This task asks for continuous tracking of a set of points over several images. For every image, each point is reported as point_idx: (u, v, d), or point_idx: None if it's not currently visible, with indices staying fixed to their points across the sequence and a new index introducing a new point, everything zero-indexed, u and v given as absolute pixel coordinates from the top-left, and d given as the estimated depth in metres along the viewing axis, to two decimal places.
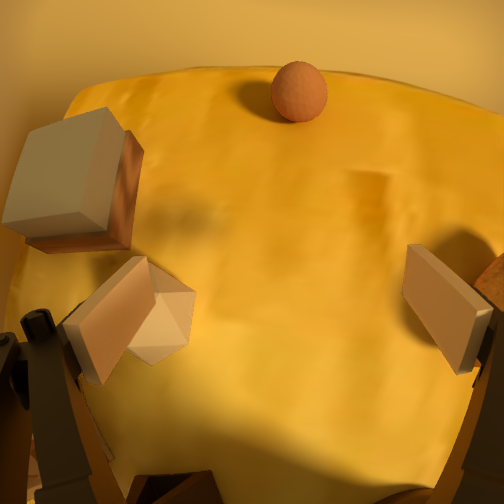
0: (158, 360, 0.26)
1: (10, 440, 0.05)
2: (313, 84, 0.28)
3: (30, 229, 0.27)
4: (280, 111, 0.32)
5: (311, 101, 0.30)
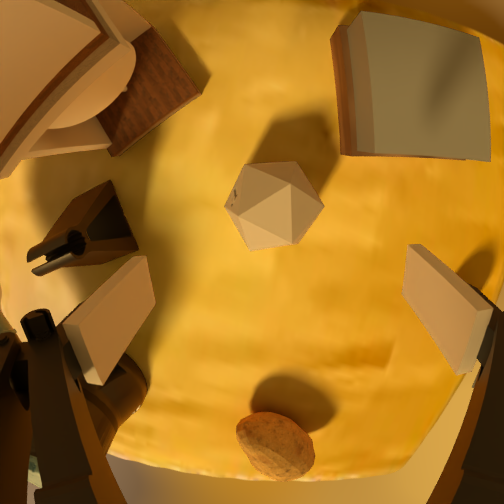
0: (231, 217, 0.30)
1: (10, 440, 0.05)
2: None
3: (357, 48, 0.21)
4: None
5: None
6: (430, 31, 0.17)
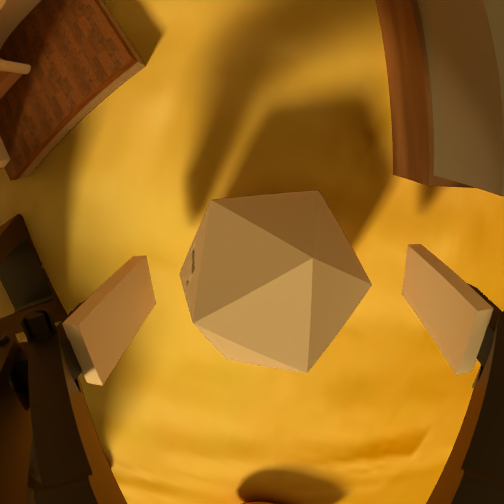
0: None
1: (10, 440, 0.05)
2: None
3: None
4: None
5: None
6: None
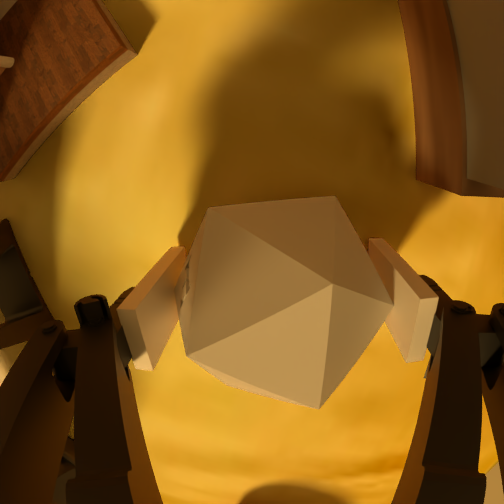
0: None
1: (45, 432, 0.06)
2: None
3: None
4: None
5: None
6: None
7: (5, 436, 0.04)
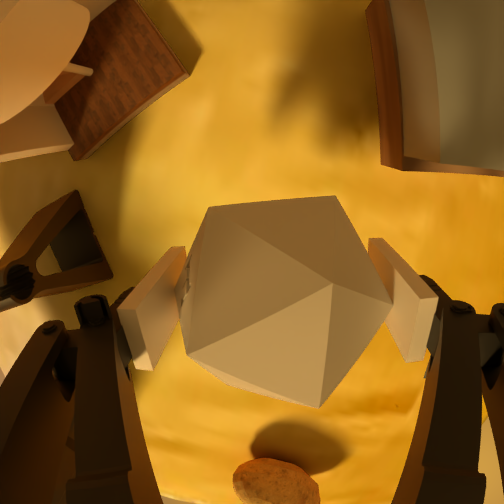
0: None
1: (45, 432, 0.06)
2: None
3: (406, 9, 0.12)
4: None
5: None
6: None
7: (5, 436, 0.04)
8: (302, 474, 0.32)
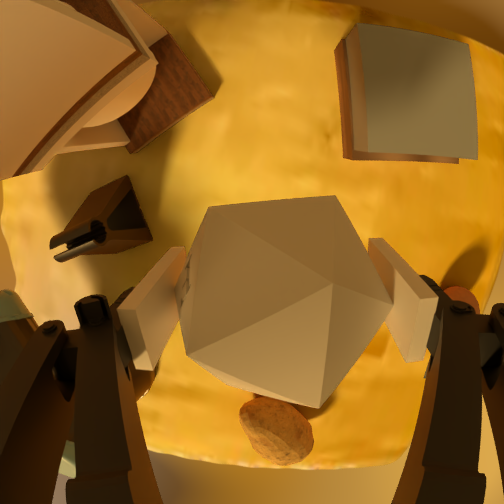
0: None
1: (45, 432, 0.06)
2: None
3: (353, 57, 0.23)
4: None
5: None
6: (421, 40, 0.20)
7: (5, 436, 0.04)
8: (297, 411, 0.43)
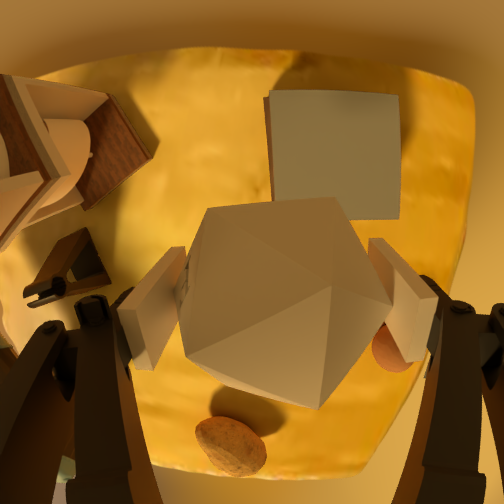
0: None
1: (45, 432, 0.06)
2: (388, 369, 0.37)
3: None
4: (381, 332, 0.39)
5: (378, 361, 0.38)
6: (340, 99, 0.24)
7: (5, 436, 0.04)
8: (248, 430, 0.47)
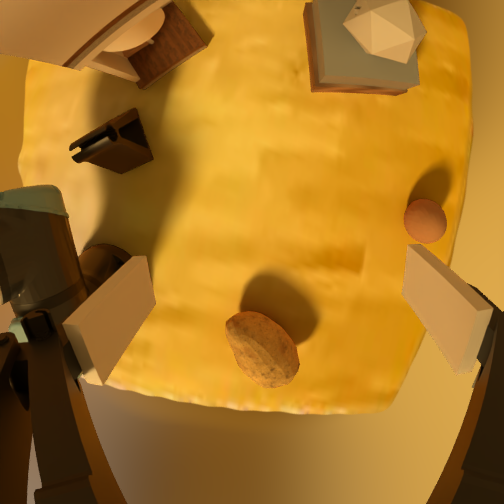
0: (351, 29, 0.25)
1: (10, 440, 0.05)
2: (423, 235, 0.38)
3: (316, 15, 0.30)
4: (411, 204, 0.41)
5: (412, 230, 0.40)
6: None
7: None
8: (281, 327, 0.49)
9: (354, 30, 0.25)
